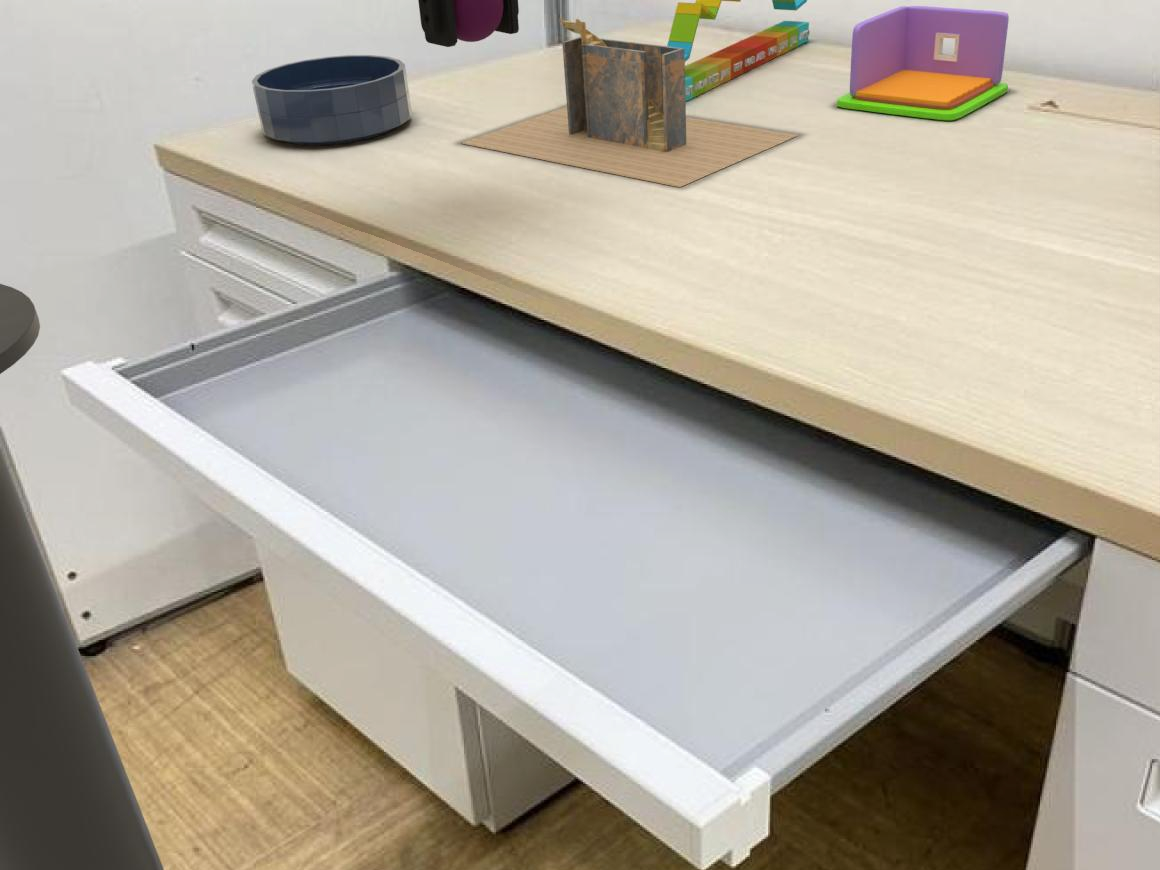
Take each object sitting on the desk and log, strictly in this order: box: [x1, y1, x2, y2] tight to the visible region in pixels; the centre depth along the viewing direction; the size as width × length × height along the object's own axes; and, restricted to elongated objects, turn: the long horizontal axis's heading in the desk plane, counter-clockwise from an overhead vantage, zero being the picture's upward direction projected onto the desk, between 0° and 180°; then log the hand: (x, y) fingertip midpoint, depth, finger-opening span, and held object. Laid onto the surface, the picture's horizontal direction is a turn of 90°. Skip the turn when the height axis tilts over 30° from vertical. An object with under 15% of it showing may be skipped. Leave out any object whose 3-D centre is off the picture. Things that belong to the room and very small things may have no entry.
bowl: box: [251, 54, 413, 146], centre depth 116 cm, size 14×14×5 cm
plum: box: [453, 0, 503, 43], centre depth 88 cm, size 5×5×5 cm
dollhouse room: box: [836, 5, 1010, 121], centre depth 111 cm, size 12×12×7 cm
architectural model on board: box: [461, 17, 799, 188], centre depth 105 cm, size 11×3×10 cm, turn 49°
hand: (472, 34), depth 89 cm, fingers closed on plum, 4 cm apart
